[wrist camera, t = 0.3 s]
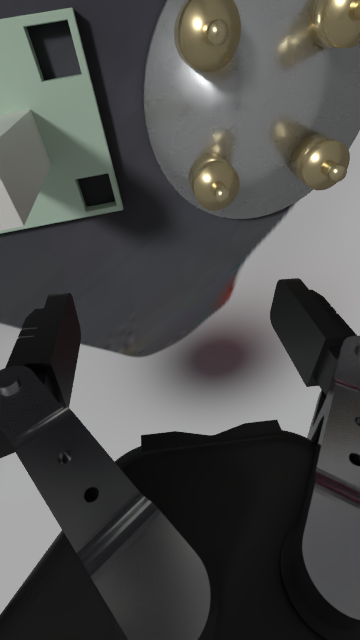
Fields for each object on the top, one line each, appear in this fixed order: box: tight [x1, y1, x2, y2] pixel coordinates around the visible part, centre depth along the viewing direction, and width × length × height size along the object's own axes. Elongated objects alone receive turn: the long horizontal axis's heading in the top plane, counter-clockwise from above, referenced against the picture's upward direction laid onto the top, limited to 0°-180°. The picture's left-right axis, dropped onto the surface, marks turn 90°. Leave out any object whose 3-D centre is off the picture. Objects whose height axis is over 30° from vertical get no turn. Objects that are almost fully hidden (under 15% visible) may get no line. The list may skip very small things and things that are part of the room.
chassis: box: [143, 0, 360, 219], centre depth 25 cm, size 20×20×6 cm
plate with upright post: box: [0, 8, 123, 233], centre depth 21 cm, size 14×14×13 cm
